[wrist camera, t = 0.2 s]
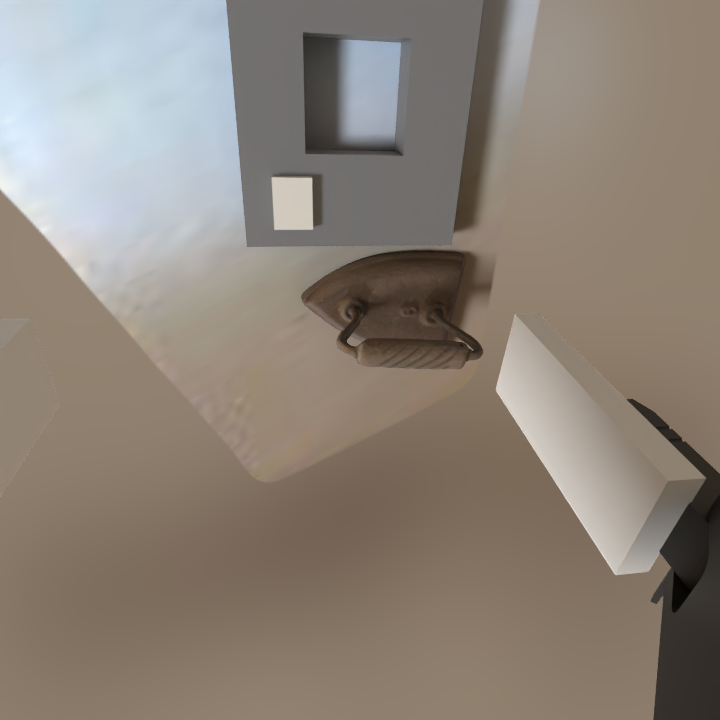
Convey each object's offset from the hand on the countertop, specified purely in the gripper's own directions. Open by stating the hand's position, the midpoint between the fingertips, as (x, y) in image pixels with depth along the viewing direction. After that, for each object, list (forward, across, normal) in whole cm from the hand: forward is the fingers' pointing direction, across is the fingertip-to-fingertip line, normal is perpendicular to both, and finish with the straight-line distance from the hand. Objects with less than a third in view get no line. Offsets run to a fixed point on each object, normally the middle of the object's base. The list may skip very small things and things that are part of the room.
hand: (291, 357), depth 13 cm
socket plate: (+27, +5, +5) cm, 28 cm away
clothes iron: (+27, +8, -11) cm, 30 cm away
